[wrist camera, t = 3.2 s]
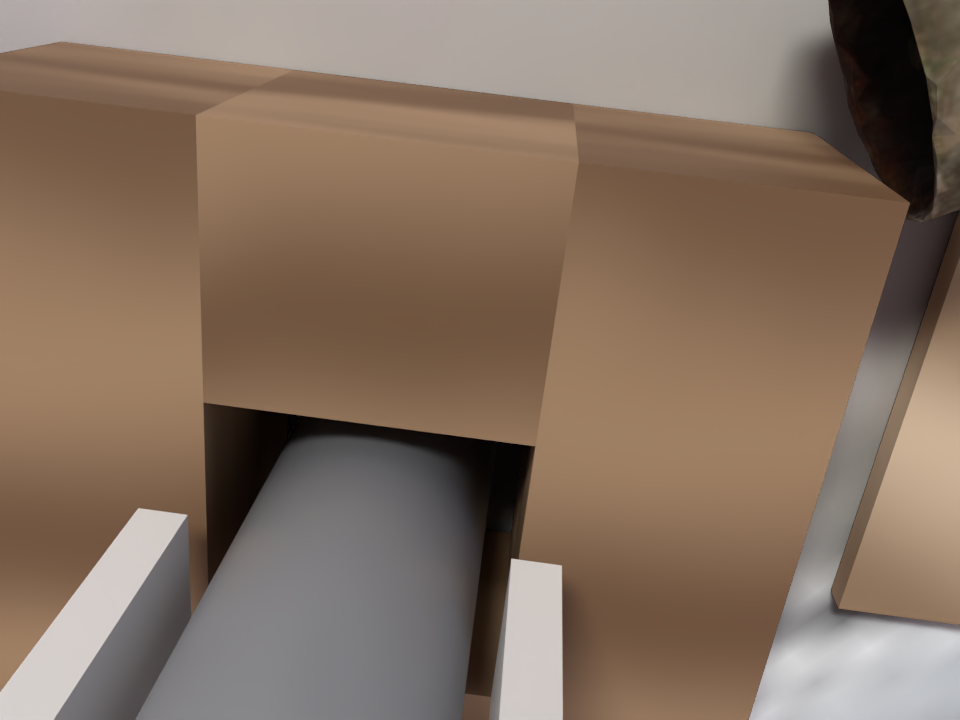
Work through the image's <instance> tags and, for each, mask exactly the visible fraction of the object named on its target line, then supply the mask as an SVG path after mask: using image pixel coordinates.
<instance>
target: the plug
mask: <svg viewBox="0 0 960 720" xmlns="http://www.w3.org/2000/svg"><path fill="white" fill-rule="evenodd" d="M495 447H496V441H491V440H483V439H476V438H468V437H461V436H453V435H445V434H438V433H430V432H423V431H415V430H407V429H400V428H392V427H385V426H377V425H370V424H362V423H354V422H347V421H339V420H332V419H324V418H316V417H309V416H301V418H300V419H299V421H298V423H297V425H296V427H295V429H294V430H293V432H292V434H291V436H290V438H289V440H288V441H287V443H286V445H285V447H284V449H283V450H282V452H281V454H280V456H279V458H278V460H277V461H276V463H275V465H274V467H273V469H272V471H271V472H270V474H269V476H268V478H267V480H266V482H265V483H264V485H263V487H262V489H261V491H260V492H259V494H258V496H257V498H256V500H255V502H254V503H253V505H252V507H251V509H250V511H249V513H248V514H247V516H246V518H245V520H244V522H243V524H242V525H241V527H240V529H239V531H238V533H237V534H236V536H235V538H234V540H233V542H232V544H231V545H230V547H229V549H228V551H227V553H226V555H225V556H224V558H223V560H222V562H221V564H220V565H219V567H218V569H217V571H216V573H215V575H214V576H213V578H212V580H211V582H210V584H209V586H208V587H207V589H206V591H205V593H204V595H203V597H202V598H201V600H200V602H199V604H198V606H197V607H196V609H195V611H194V613H193V615H192V617H191V618H190V620H189V622H188V624H187V626H186V628H185V629H184V631H183V633H182V635H181V637H180V639H179V640H178V642H177V644H176V646H175V648H174V649H173V651H172V653H171V655H170V657H169V659H168V660H167V662H166V664H165V666H164V668H163V670H162V671H161V673H160V675H159V677H158V679H157V681H156V682H155V684H154V686H153V688H152V690H151V691H150V693H149V695H148V697H147V699H146V701H145V702H144V704H143V706H142V708H141V710H140V712H139V713H138V715H137V717H136V719H135V720H462V712H463V704H464V696H465V688H466V680H467V672H468V664H469V656H470V648H471V640H472V632H473V624H474V616H475V608H476V600H477V592H478V584H479V576H480V568H481V560H482V552H483V544H484V536H485V528H486V520H487V512H488V504H489V496H490V488H491V480H492V471H493V463H494V455H495Z"/></svg>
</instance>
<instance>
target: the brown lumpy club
mask: <svg viewBox="0 0 960 720" xmlns="http://www.w3.org/2000/svg"><path fill="white" fill-rule="evenodd" d="M828 1H829V15H830V24H831V28H832V33H833V37H834V42H835V46H836V50H837V55H838V59H839V63H840V67H841V71H842V75H843V79H844V83H845V89H846V95H847V101H848V106H849V109H850V112H851V114H852V117H853V120H854V123H855V126H856V129H857V132H858V135H859V137H860V138H861V140H862V142H863V144H864V145H865V147H866V149H867V151H868V152H869V155H870V158H871V161H872V164H873V166H874V168H875V171H876V173H877V174H878V176H879V177H880V179H881V181H882V182H883V184H885V185H886V186H887V187H889V188H890V189H892V190H893V191H894V192H896V193H897V194H898V195H900V196H901V197H903V198H904V199H905V200H907V201H908V202H910V205H909V208H908V211H907V215H906V218H907V219H910V220H914V221H917V222H921V223H923V222H924V221H925V220H933V219H936V218H938V217H941V216H944V215H946V214H949V213H952V212H954V211H957V210H960V0H828Z"/></svg>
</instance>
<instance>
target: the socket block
mask: <svg viewBox="0 0 960 720" xmlns="http://www.w3.org/2000/svg"><path fill="white" fill-rule="evenodd" d="M909 205H910V202H908V201H907V200H905V199H904V198H903V197H901V196H900V195H898V194H897V193H896V192H894V191H893V190H892V189H890V188H889V187H887V186H886V185H885V184H883V183H882V182H880V181H879V180H878V179H876V178H875V177H874V176H872V175H871V174H869V173H868V172H867V171H865V170H864V169H862V168H861V167H860V166H858V165H857V164H856V163H854V162H853V161H851V160H850V159H849V158H847V157H846V156H845V155H843V154H842V153H840V152H839V151H838V150H836V149H835V148H833V147H832V146H831V145H829V144H828V143H827V142H825V141H824V140H822V139H821V138H820V137H818V136H817V135H815V134H814V133H810V132H802V131H794V130H785V129H777V128H769V127H761V126H752V125H744V124H736V123H728V122H719V121H711V120H703V119H695V118H686V117H678V116H670V115H662V114H653V113H645V112H637V111H629V110H620V109H612V108H604V107H596V106H587V105H579V104H571V103H563V102H554V101H546V100H538V99H530V98H521V97H513V96H505V95H497V94H488V93H480V92H472V91H464V90H455V89H447V88H439V87H431V86H422V85H414V84H406V83H398V82H389V81H381V80H373V79H365V78H356V77H348V76H340V75H332V74H323V73H315V72H307V71H299V70H290V69H282V68H274V67H266V66H257V65H249V64H241V63H233V62H224V61H216V60H208V59H200V58H191V57H183V56H175V55H167V54H158V53H150V52H142V51H134V50H125V49H117V48H109V47H101V46H93V45H84V44H76V43H68V42H57V43H52V44H47V45H41V46H36V47H31V48H25V49H20V50H15V51H9V52H4V53H0V692H1V690H2V689H3V688H4V686H5V685H6V684H7V682H8V681H9V680H10V678H11V677H12V676H13V674H14V673H15V672H16V670H17V669H18V668H19V666H20V665H21V664H22V662H23V661H24V660H25V658H26V657H27V656H28V654H29V653H30V652H31V650H32V649H33V648H34V646H35V645H36V644H37V642H38V641H39V640H40V638H41V637H42V636H43V634H44V633H45V632H46V630H47V629H48V628H49V626H50V625H51V624H52V622H53V621H54V620H55V618H56V617H57V616H58V614H59V613H60V612H61V610H62V609H63V608H64V606H65V605H66V604H67V602H68V601H69V600H70V598H71V597H72V596H73V594H74V593H75V592H76V590H77V589H78V588H79V586H80V585H81V584H82V582H83V581H84V580H85V578H86V577H87V576H88V574H89V573H90V572H91V570H92V569H93V568H94V566H95V565H96V564H97V563H98V561H99V560H100V559H101V557H102V556H103V555H104V553H105V552H106V551H107V549H108V548H109V547H110V545H111V544H112V543H113V541H114V540H115V539H116V537H117V536H118V535H119V533H120V532H121V531H122V529H123V528H124V527H125V525H126V524H127V523H128V521H129V520H130V519H131V517H132V516H133V515H134V513H135V512H136V511H137V509H138V508H141V509H148V510H156V511H163V512H171V513H178V514H185V515H188V538H189V565H190V592H191V617H192V615H193V613H194V611H195V609H196V607H197V606H198V604H199V602H200V600H201V598H202V597H203V595H204V593H205V591H206V589H207V587H208V586H209V584H210V582H211V580H212V578H213V576H214V575H215V573H216V571H217V569H218V567H219V565H220V564H221V562H222V560H223V558H224V556H225V555H226V553H227V551H228V549H229V547H230V545H231V544H232V542H233V540H234V538H235V536H236V534H237V533H238V531H239V529H240V527H241V525H242V524H243V522H244V520H245V518H246V516H247V514H248V513H249V511H250V509H251V507H252V505H253V503H254V502H255V500H256V498H257V496H258V494H259V492H260V491H261V489H262V487H263V485H264V483H265V482H266V480H267V478H268V476H269V474H270V472H271V471H272V469H273V467H274V465H275V463H276V461H277V460H278V458H279V456H280V454H281V452H282V450H283V449H284V447H285V445H286V443H287V427H288V414H294V415H301V416H309V417H316V418H324V419H332V420H339V421H347V422H354V423H362V424H370V425H377V426H385V427H392V428H400V429H407V430H415V431H423V432H430V433H438V434H445V435H453V436H461V437H468V438H476V439H483V440H491V441H499V442H506V443H514V444H521V445H523V452H522V459H521V466H520V473H519V480H518V487H517V494H516V500H515V507H514V514H513V521H512V528H511V533H505V532H498V531H491V530H485V536H484V544H483V552H482V560H481V568H480V576H479V584H478V592H477V600H476V608H475V616H474V624H473V632H472V640H471V648H470V656H469V664H468V672H467V680H466V688H465V696H464V704H463V712H462V720H489V714H490V703H491V693H492V686H493V679H494V673H495V666H496V659H497V652H498V646H499V639H500V632H501V625H502V619H503V612H504V605H505V598H506V592H507V585H508V578H509V571H510V565H511V559H518V560H525V561H533V562H540V563H548V564H555V565H562V667H563V720H749V717H750V713H751V710H752V707H753V704H754V701H755V697H756V694H757V691H758V688H759V685H760V681H761V678H762V675H763V672H764V669H765V665H766V662H767V659H768V656H769V653H770V649H771V646H772V643H773V640H774V637H775V633H776V630H777V627H778V624H779V621H780V617H781V614H782V611H783V608H784V605H785V602H786V598H787V595H788V592H789V589H790V586H791V582H792V579H793V576H794V573H795V570H796V566H797V563H798V560H799V557H800V554H801V550H802V547H803V544H804V541H805V538H806V534H807V531H808V528H809V525H810V522H811V518H812V515H813V512H814V509H815V506H816V502H817V499H818V496H819V493H820V490H821V486H822V483H823V480H824V477H825V474H826V470H827V467H828V464H829V461H830V458H831V454H832V451H833V448H834V445H835V442H836V438H837V435H838V432H839V429H840V426H841V422H842V419H843V416H844V413H845V410H846V407H847V403H848V400H849V397H850V394H851V391H852V387H853V384H854V381H855V378H856V375H857V371H858V368H859V365H860V362H861V359H862V355H863V352H864V349H865V346H866V343H867V339H868V336H869V333H870V330H871V327H872V323H873V320H874V317H875V314H876V311H877V307H878V304H879V301H880V298H881V295H882V291H883V288H884V285H885V282H886V279H887V275H888V272H889V269H890V266H891V263H892V259H893V256H894V253H895V250H896V247H897V243H898V240H899V237H900V234H901V231H902V227H903V224H904V221H905V218H906V215H907V211H908V208H909Z"/></svg>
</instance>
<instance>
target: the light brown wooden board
mask: <svg viewBox="0 0 960 720" xmlns="http://www.w3.org/2000/svg"><path fill="white" fill-rule="evenodd" d="M831 592H832V594H833V597H834V599H835V602H836V604H837V606H838V608H839V609H846V610H854V611H861V612H868V613H876V614H883V615H890V616H898V617H905V618H913V619H920V620H927V621H935V622H942V623H950V624H957V625H960V210H959V213H958V216H957V219H956V222H955V225H954V228H953V231H952V234H951V237H950V240H949V243H948V246H947V249H946V252H945V255H944V258H943V261H942V264H941V267H940V270H939V273H938V276H937V278H936V281H935V284H934V287H933V290H932V293H931V296H930V299H929V302H928V305H927V308H926V311H925V314H924V317H923V320H922V323H921V326H920V329H919V332H918V335H917V338H916V341H915V344H914V347H913V350H912V353H911V356H910V358H909V361H908V364H907V367H906V370H905V373H904V376H903V379H902V382H901V385H900V388H899V391H898V394H897V397H896V400H895V403H894V406H893V409H892V412H891V415H890V418H889V421H888V424H887V427H886V430H885V433H884V436H883V438H882V441H881V444H880V447H879V450H878V453H877V456H876V459H875V462H874V465H873V468H872V471H871V474H870V477H869V480H868V483H867V486H866V489H865V492H864V495H863V498H862V501H861V504H860V507H859V510H858V513H857V516H856V518H855V521H854V524H853V527H852V530H851V533H850V536H849V539H848V542H847V545H846V548H845V551H844V554H843V557H842V560H841V563H840V566H839V569H838V572H837V575H836V578H835V581H834V584H833V587H832V590H831Z"/></svg>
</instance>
